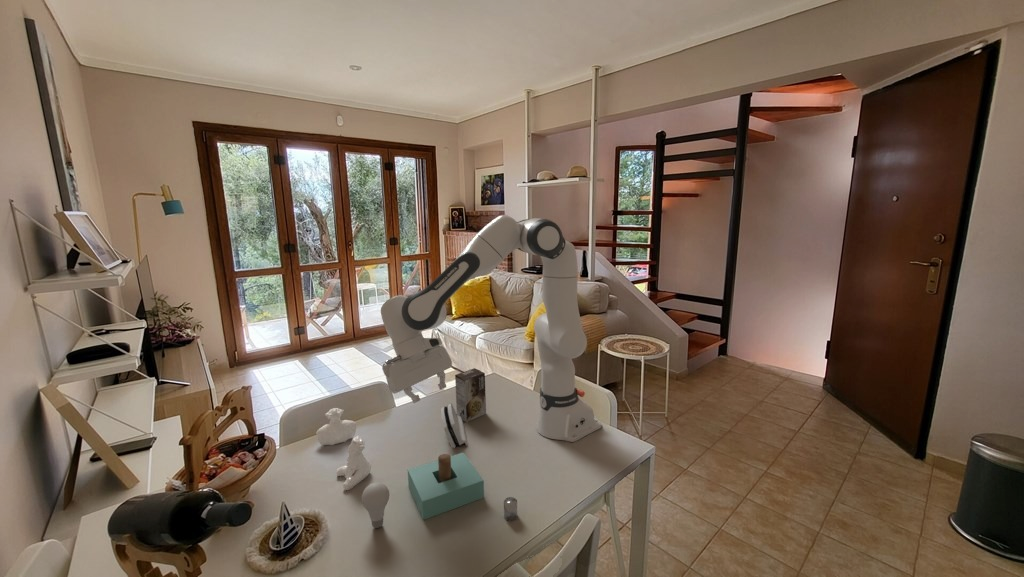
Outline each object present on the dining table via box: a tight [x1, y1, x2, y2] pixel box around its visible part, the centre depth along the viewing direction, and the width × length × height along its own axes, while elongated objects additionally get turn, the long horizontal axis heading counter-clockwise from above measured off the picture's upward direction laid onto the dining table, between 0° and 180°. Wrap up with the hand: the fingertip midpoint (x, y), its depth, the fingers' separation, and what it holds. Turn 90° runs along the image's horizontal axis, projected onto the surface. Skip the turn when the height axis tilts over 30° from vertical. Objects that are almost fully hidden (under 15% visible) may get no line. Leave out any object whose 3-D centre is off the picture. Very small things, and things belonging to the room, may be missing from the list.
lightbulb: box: [361, 481, 390, 529], centre depth 94 cm, size 6×6×11 cm
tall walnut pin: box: [437, 453, 452, 483], centre depth 106 cm, size 3×3×10 cm
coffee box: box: [454, 367, 487, 423], centre depth 146 cm, size 9×6×16 cm
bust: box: [315, 407, 357, 446], centre depth 132 cm, size 12×8×11 cm
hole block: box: [407, 452, 485, 521], centre depth 106 cm, size 16×14×5 cm
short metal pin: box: [503, 496, 518, 522], centre depth 98 cm, size 3×3×4 cm
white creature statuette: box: [336, 434, 372, 491], centre depth 112 cm, size 10×9×12 cm
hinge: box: [440, 403, 469, 449], centre depth 134 cm, size 17×5×10 cm, turn 12°
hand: (430, 395), depth 115 cm, fingers open, 8 cm apart
